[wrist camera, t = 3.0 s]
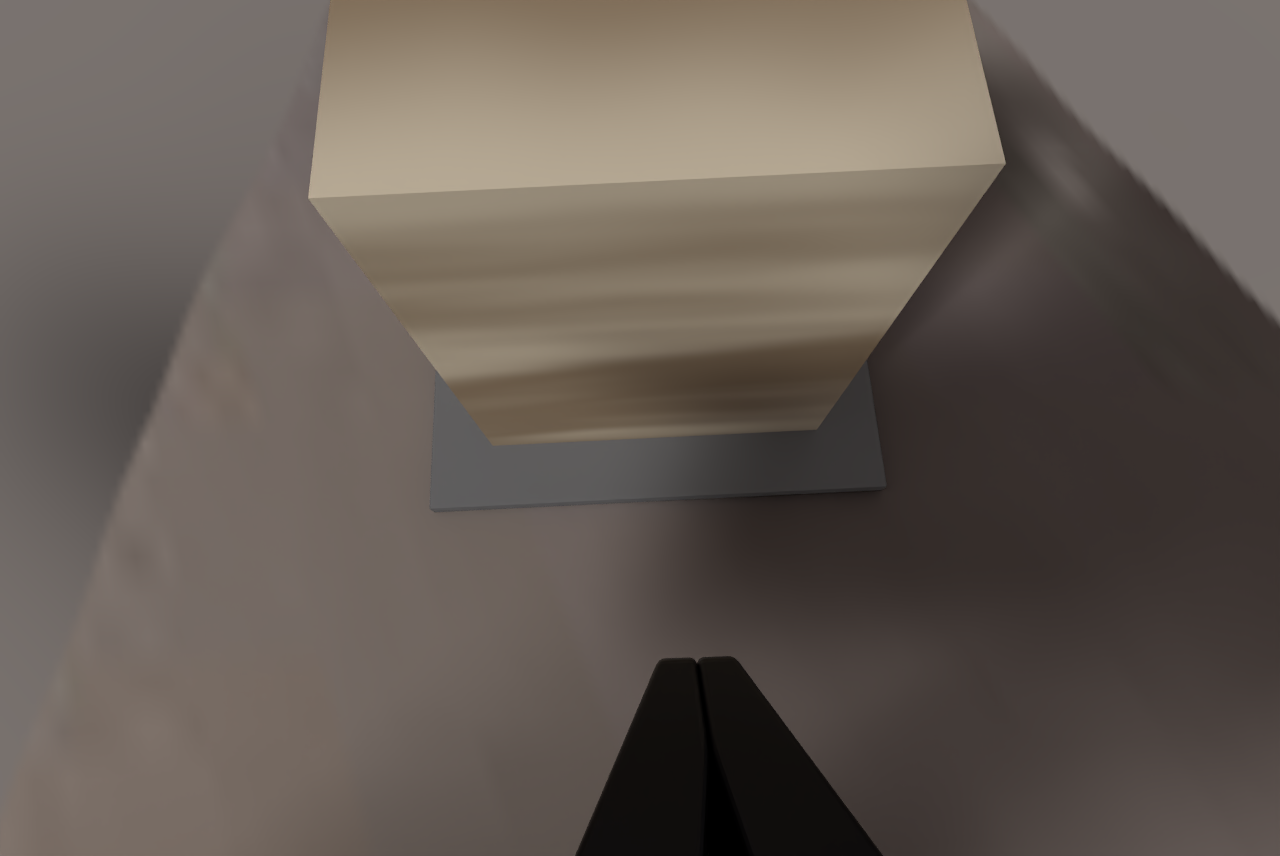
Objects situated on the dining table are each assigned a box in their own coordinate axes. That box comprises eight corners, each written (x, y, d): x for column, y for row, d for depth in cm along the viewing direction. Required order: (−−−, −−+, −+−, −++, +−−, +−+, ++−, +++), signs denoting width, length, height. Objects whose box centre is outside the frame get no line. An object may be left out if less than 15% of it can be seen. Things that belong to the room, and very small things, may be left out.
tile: (816, 429, 18) (1006, 163, 8) (492, 445, 18) (308, 198, 8) (800, 306, 19) (952, -58, 9) (494, 321, 19) (333, -26, 9)
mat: (881, 490, 18) (887, 486, 17) (434, 511, 18) (429, 508, 17) (805, -8, 23) (807, -20, 22) (455, 9, 23) (452, -2, 22)
